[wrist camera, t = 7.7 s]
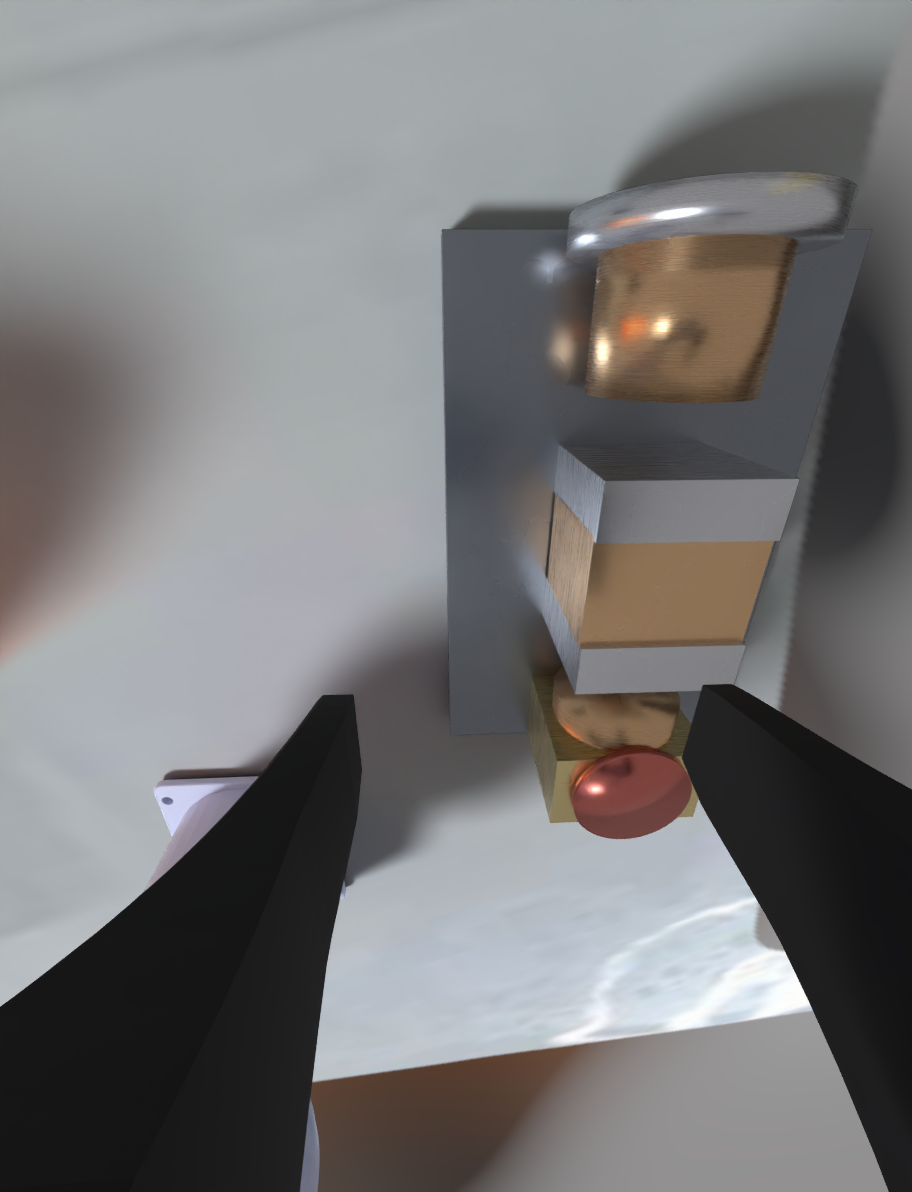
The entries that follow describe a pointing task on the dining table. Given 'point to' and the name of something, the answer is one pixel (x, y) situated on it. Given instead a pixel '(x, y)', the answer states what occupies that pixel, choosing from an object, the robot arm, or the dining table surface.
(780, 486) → the block
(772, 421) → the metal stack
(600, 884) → the dining table surface
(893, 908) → the robot arm
